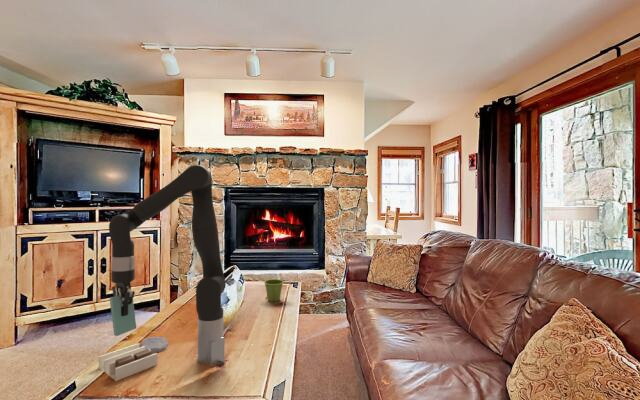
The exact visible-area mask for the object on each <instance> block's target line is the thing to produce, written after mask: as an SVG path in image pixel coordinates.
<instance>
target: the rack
mask: <svg viewBox="0 0 640 400" xmlns="http://www.w3.org/2000/svg"><path fill="white" fill-rule="evenodd" d="M140 345H141V344H140V342H138V343H135V344H132V345H129V346H126V347H123V348H120V349H117V350H114V351H111V352H107V353H105V354H101V355H99V356H98V368H99V369H100V370H101V371H102V372H104V373H105V374H106V375H107V376H109V377H111V378H112V379H113V380H114V381H116V382H117V381H120V380H122V379H125V378H127V377H129V376H132V375H134V374H137V373H140V372H142V371H144V370H148V369H150V368H153V367H154V366H155V367H156V366H157V365H158V352H154V353H152V355H149V356H147V357H144V358H141V359H139V360H136V361H133V362H130V363H128V364H125V365H122V366H120V367H117V368H115V361H116V360H118V359H121V358H123V357H126V356H129V355H132V356H133V357H134V354H135V353H138V352H140V351H143V350H145V346H143V347H142V346H140ZM149 350H150V349H149ZM150 351H151V350H150Z"/></svg>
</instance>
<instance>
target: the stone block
mask: <svg viewBox="0 0 640 400" xmlns="http://www.w3.org/2000/svg"><path fill="white" fill-rule="evenodd" d="M168 345H169V342H168V340H167V338H166V337H164V336H149V337H145V338H144V339H142V340H141V347H143V346H145V350H146V349H148V350H149V349H150V350H151V351H152V354H155V353H161V352H164V351H165V350H166V348H167V347H168Z"/></svg>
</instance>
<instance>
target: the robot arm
mask: <svg viewBox="0 0 640 400" xmlns="http://www.w3.org/2000/svg"><path fill="white" fill-rule="evenodd" d="M212 179H213V177H212V173H211V171H210V170H209V169H208V168H206V166H205V167H204V166H203V165H200V164H192V165H191V166H189V167H187V168H186V169H185V170H184V171H182V173H180V174H179V175H178V176H177V177H176V178H175V179H173V180H172V181H171V182H169V183H168V184H167V185H165V186H164V187H162V188H160V189H159V190H157V191H156V192H154V193H152V194H150V195H149V196H147V197H146V198H144V199H142V200H140V201H139V202H138V203H136V204H135V205H133V208H131V209H130V210H129V211H126V212H125V213H122V214H117V215H115V216H112V218H110V221H109V224H108V230H109V231H108V232H109V238H110V241H111V244H112V246H111V247H112V249H111V252H112V253H111V262H110V263H111V265H110V267H111V268H110V269H111V270H110V272H111V273H110V274H111V276H110V278H111V279H110V280H111V282H112V283H114V284H115V286H112V287H111V290H112V295H113V297H114V296H118V295H119V299H120V300H121V316H126V315H128V305H129V304H131V303H132V300H133V301H134V296H135V294H136V293H135V290H132V286H131V282H133V281H135V279H136V276H135V275H136V273H135V272H136V269H135V268H136V266H135V265H136V262H135V260H136V259H135V243H134V241H133V240H132V239H131V232H132V231H134V230H136V229H137V228H139V227H140V226H141V225H142V224H144V223H145V222H146V221H148V220H150V219H152V218H153V217H155V216H156V215H158V214H159V213H161V212H163V211H164V210H166V208H168V207H169V206H170V205H171V204H173V203H174V202H175V201H176V200H178V199H179V198H181V197H182V196H184V195H186V194H188V193H191V196H192V214H191V231H192V233H191V234H192V239H193V240H192V241H193V244H194V247H195V249H196V251H197V253H198V256H199V257H200V261H201V266H202V278H201V279H200V280H199V281H198V282H197V284H196V289H195V308H196V312H197V362H199V363H200V364H202V365H203V364H204V365H210V366H211V365H213V366H212V367H210V369H212V368H215V367H217V366H219V365H221V364H223V363H225V356H226V355H225V353H226V352H225V350H226V349H225V343H226V340H225V337H224V308H223V307H222V294H223V293H224V291H225V288H226V278H225V274H224V270H223V265H222V260H221V251H220V240H219V230H218V223H217V217H216V212H215V207H214V204H213V187H212V186H213V185H212V184H213V182H212V181H213V180H212ZM124 296H125V297H124ZM219 362H220V363H219ZM215 363H218V364H215ZM214 364H215V365H214Z"/></svg>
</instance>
